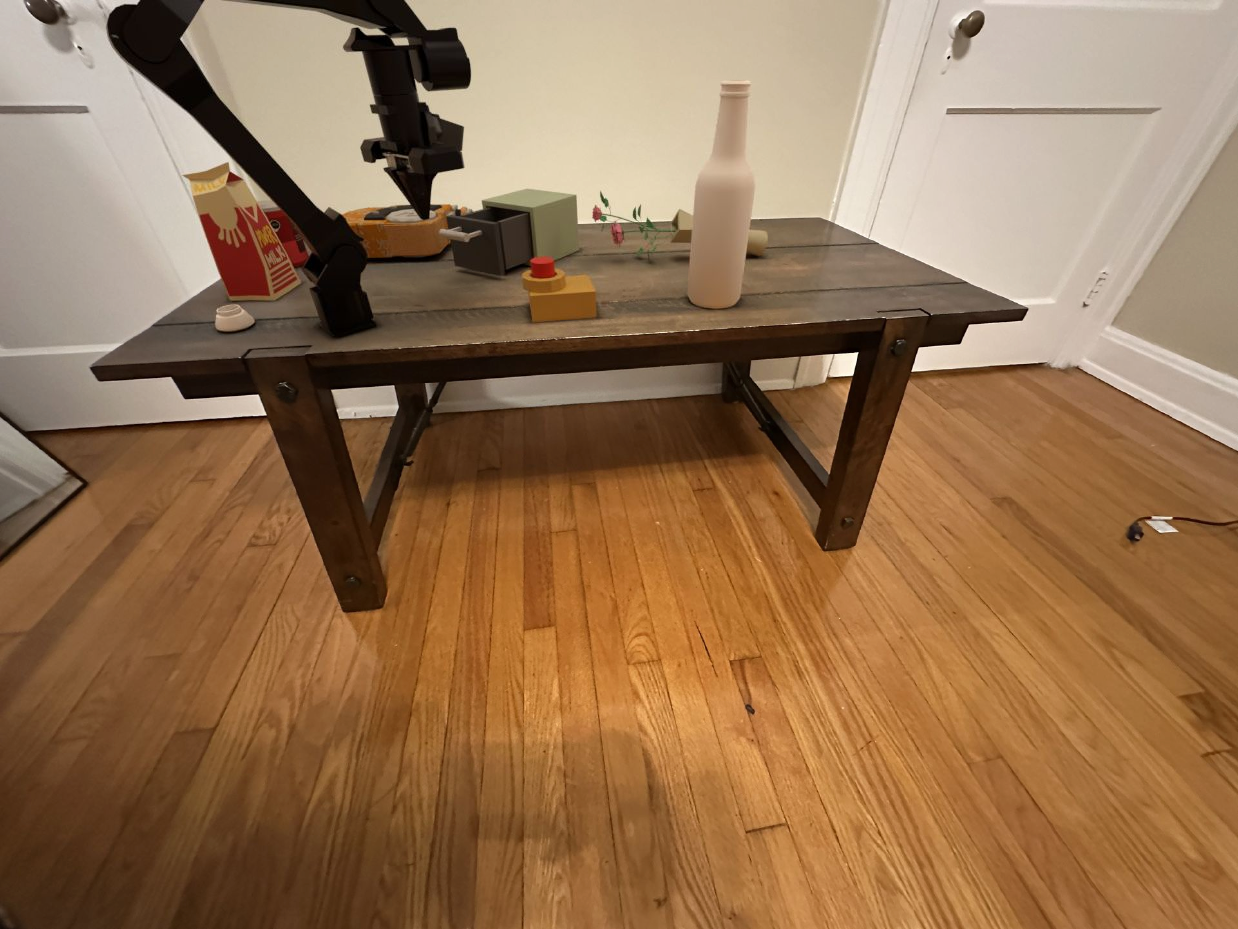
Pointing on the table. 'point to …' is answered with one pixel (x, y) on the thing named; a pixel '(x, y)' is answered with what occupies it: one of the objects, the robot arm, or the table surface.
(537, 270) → the button
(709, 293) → the alcohol
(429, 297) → the table surface
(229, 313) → the lidless jar
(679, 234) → the flower vase
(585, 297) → the control block
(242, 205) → the milk carton
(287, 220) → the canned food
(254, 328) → the table surface
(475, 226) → the dark grey drawer
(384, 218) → the device
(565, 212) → the drawer cabinet
